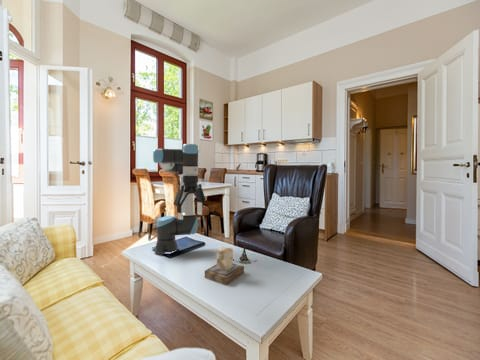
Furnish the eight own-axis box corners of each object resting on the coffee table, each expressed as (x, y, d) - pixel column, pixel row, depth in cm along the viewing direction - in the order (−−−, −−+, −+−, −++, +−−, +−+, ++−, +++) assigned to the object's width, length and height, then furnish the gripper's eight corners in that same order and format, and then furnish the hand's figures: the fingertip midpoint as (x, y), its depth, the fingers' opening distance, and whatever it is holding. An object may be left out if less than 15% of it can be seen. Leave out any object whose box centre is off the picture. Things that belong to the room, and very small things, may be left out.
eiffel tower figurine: (228, 260, 145) (229, 239, 144) (238, 255, 153) (238, 235, 153) (249, 266, 137) (250, 244, 136) (258, 260, 145) (258, 239, 144)
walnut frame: (204, 277, 122) (204, 269, 121) (223, 266, 135) (223, 259, 135) (226, 285, 114) (226, 277, 114) (243, 272, 128) (243, 265, 127)
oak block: (216, 268, 123) (216, 249, 123) (223, 264, 128) (223, 246, 128) (225, 271, 120) (226, 252, 120) (232, 267, 125) (232, 248, 125)
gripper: (176, 176, 106) (177, 222, 107) (212, 174, 127) (212, 213, 128) (165, 175, 110) (165, 220, 111) (201, 174, 131) (201, 212, 132)
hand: (190, 216), depth 120 cm, fingers open, 13 cm apart
